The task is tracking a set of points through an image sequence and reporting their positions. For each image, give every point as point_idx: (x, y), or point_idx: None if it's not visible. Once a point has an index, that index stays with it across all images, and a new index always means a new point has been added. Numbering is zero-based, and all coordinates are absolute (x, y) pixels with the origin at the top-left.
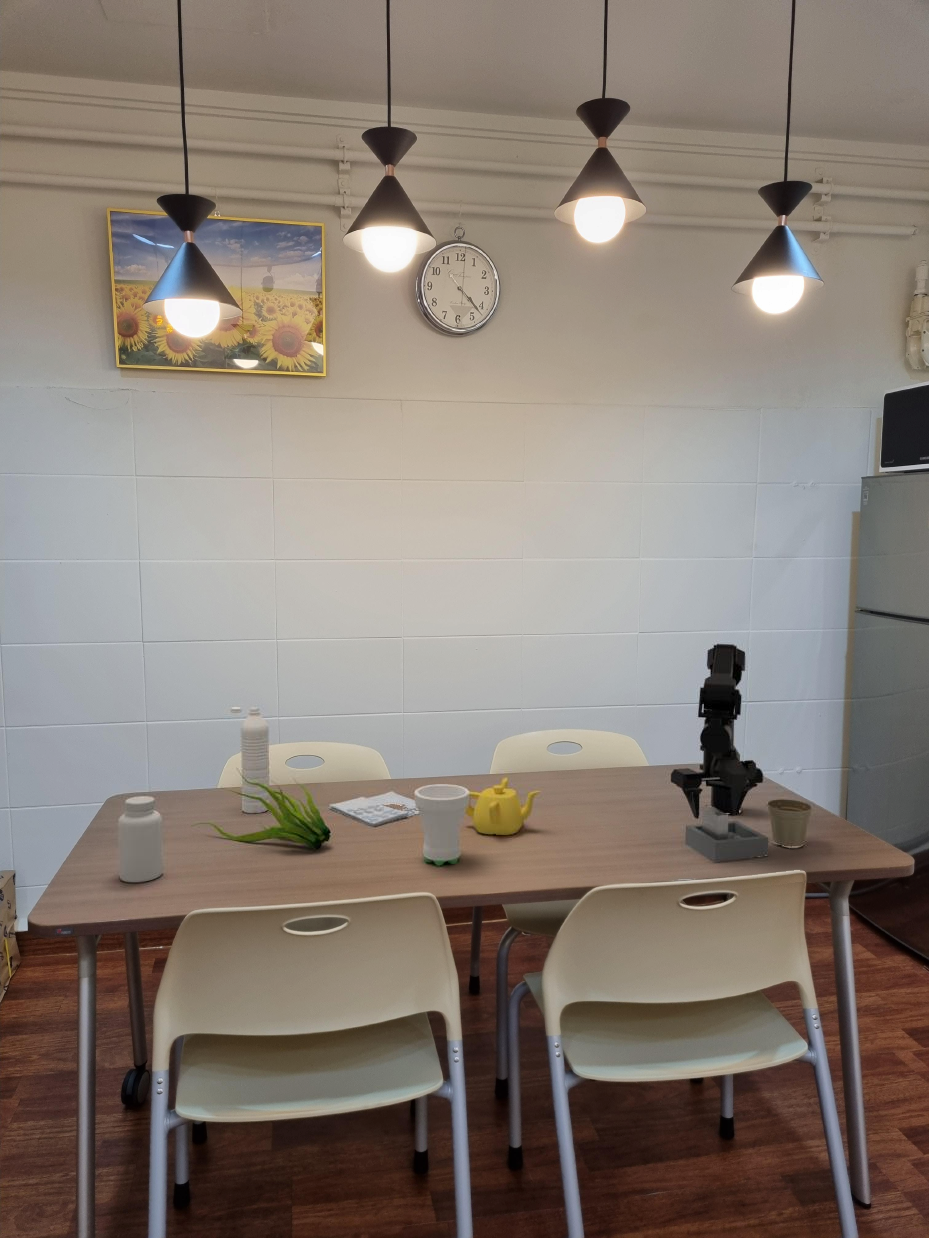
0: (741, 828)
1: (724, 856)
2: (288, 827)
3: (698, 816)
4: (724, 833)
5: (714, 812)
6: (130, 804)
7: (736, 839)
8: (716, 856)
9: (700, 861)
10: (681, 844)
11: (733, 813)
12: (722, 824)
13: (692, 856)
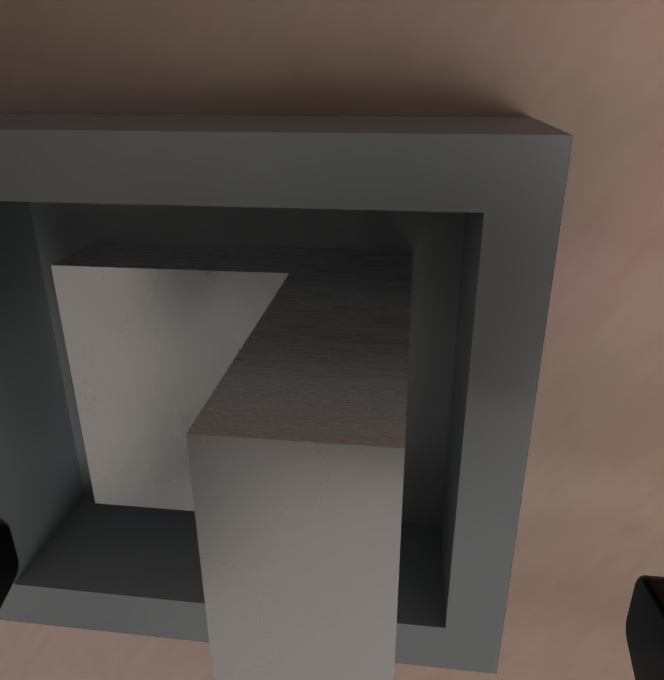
0: (3, 483)
1: (422, 118)
2: None
3: (659, 595)
4: (313, 311)
5: (358, 593)
6: None
7: (228, 175)
8: (518, 120)
9: (643, 178)
10: (515, 549)
11: (14, 567)
12: (329, 362)
13: (620, 310)
